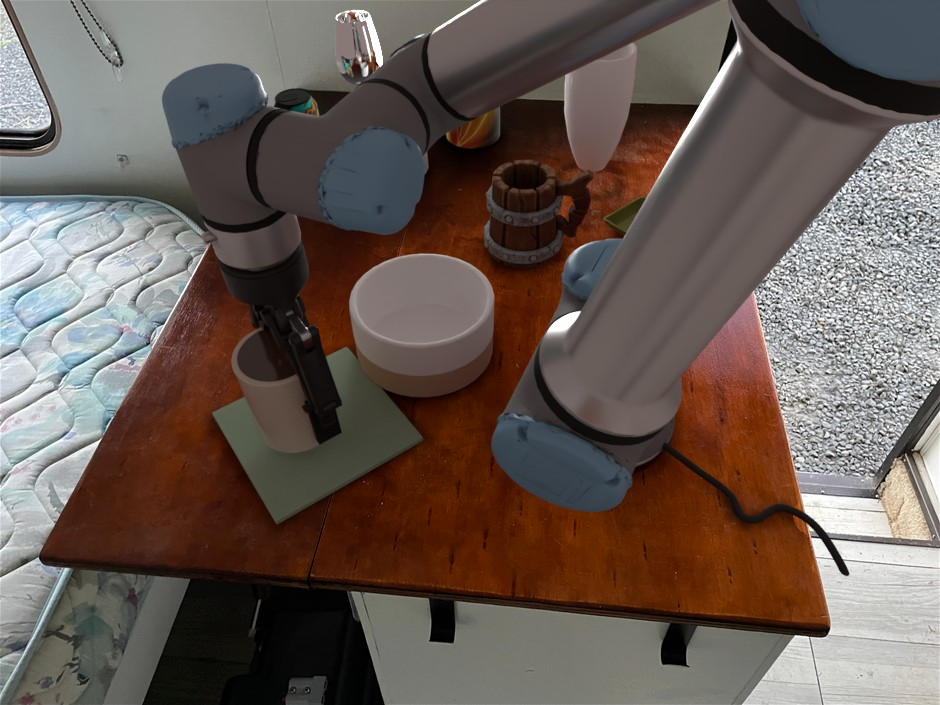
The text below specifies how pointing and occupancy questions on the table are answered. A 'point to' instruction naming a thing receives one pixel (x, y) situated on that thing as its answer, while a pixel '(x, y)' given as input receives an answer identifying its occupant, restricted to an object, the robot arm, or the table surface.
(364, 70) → the wineglass
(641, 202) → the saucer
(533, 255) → the mug
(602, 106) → the cup
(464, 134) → the mug
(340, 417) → the mat
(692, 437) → the table surface
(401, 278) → the bowl
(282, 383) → the tumbler
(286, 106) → the beverage can
